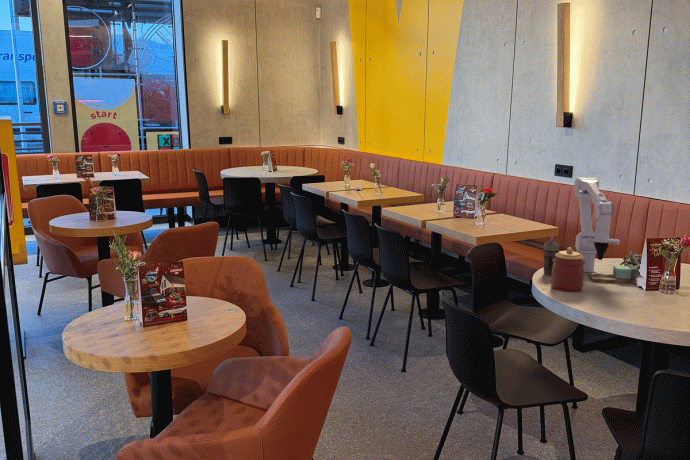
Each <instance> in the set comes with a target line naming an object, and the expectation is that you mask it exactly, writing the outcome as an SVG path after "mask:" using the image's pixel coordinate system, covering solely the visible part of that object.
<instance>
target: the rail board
mask: <svg viewBox="0 0 690 460" xmlns="http://www.w3.org/2000/svg"><path fill="white" fill-rule="evenodd" d="M626 264H627V263H626ZM627 266H628V267H630V268H631V269H632V272H631V279H621V278H616V277H615V274H613V273H603V272H602V273H601V272H600V273H599V272H596V273H594V272H587V276H588V278H589V279H590V280H591V282H592V283H604V284H626V285H637V283H638V280H637V279H638V273H637V268H636V267H634V266H633V265H631V264H627Z"/></svg>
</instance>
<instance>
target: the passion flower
mask: <svg viewBox="0 0 690 460" xmlns="http://www.w3.org/2000/svg"><path fill="white" fill-rule="evenodd" d="M628 253H629V256H628V255H625V256H623V257H622V260H623V261H622V262H621V263H620V264H619V266H627V264H631V265H633V266H634V267H636V268H637V274H639V269H640V264H641V259H642V255H643V254H641V253H640V254H638V253H635V252H632V251H631V250H628Z"/></svg>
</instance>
